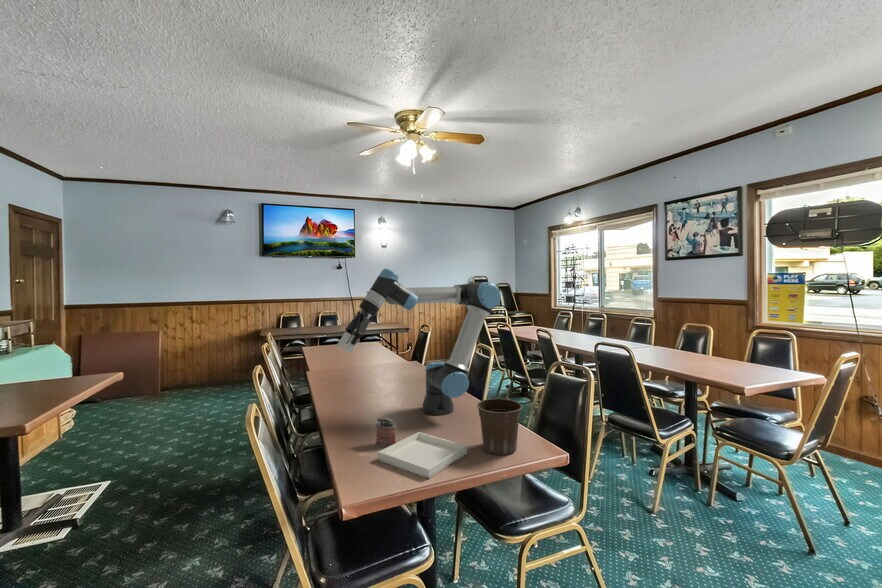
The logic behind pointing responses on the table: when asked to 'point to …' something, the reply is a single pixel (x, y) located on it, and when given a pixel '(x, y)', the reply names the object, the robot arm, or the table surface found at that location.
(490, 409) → the plant pot
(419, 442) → the tray
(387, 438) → the lighter
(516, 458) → the table surface
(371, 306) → the robot arm
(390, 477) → the table surface
